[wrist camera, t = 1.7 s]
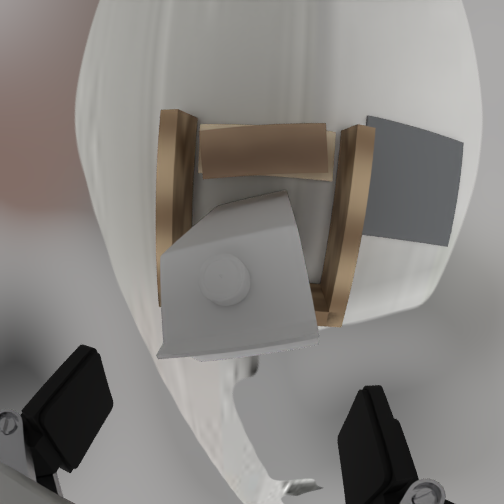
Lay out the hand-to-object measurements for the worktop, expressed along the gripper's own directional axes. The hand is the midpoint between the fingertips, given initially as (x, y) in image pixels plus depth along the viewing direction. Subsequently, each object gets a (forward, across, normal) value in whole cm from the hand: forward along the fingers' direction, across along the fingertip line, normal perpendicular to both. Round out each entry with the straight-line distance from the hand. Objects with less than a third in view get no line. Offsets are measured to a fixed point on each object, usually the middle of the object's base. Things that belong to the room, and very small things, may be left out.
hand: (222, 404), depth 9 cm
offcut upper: (+19, 0, -9) cm, 21 cm away
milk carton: (+22, 0, -1) cm, 22 cm away
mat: (+22, -15, -8) cm, 28 cm away
